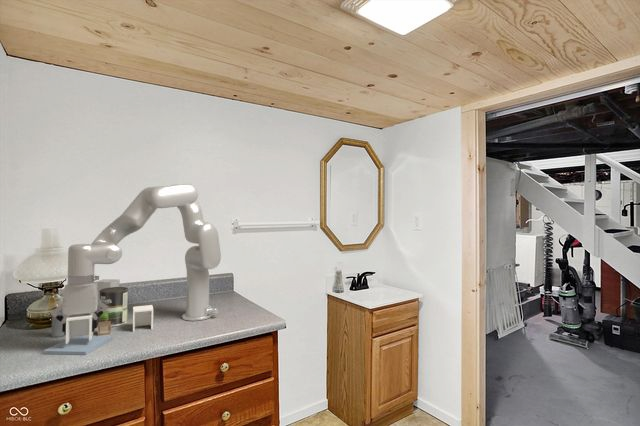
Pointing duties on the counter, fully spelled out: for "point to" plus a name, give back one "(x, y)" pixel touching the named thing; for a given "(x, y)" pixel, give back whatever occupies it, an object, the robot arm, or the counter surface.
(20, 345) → the counter surface
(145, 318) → the plain white cube box
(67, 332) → the white box
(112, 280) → the skincare box
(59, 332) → the grey cylinder
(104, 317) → the coffee can
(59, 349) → the slate board
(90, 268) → the robot arm
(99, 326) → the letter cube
